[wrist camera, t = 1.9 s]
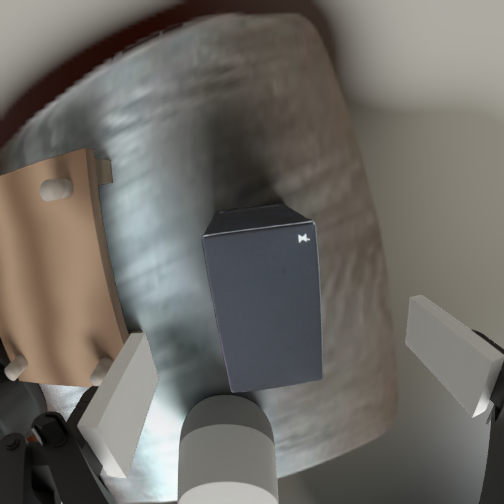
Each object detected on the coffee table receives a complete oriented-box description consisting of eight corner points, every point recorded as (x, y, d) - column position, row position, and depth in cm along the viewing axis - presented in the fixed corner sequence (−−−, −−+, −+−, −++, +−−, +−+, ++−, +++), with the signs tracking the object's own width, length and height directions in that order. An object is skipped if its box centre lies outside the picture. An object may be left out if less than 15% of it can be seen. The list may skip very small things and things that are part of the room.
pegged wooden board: (44, 353, 28) (8, 394, 19) (3, 185, 23) (-52, 192, 15) (152, 351, 28) (131, 406, 20) (115, 153, 24) (68, 144, 16)
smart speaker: (273, 386, 30) (296, 494, 17) (265, 442, 32) (279, 536, 19) (182, 383, 29) (162, 491, 16) (186, 439, 31) (176, 535, 18)
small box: (209, 211, 26) (194, 232, 16) (285, 201, 26) (320, 215, 16) (227, 325, 28) (227, 397, 18) (297, 315, 28) (328, 381, 18)
